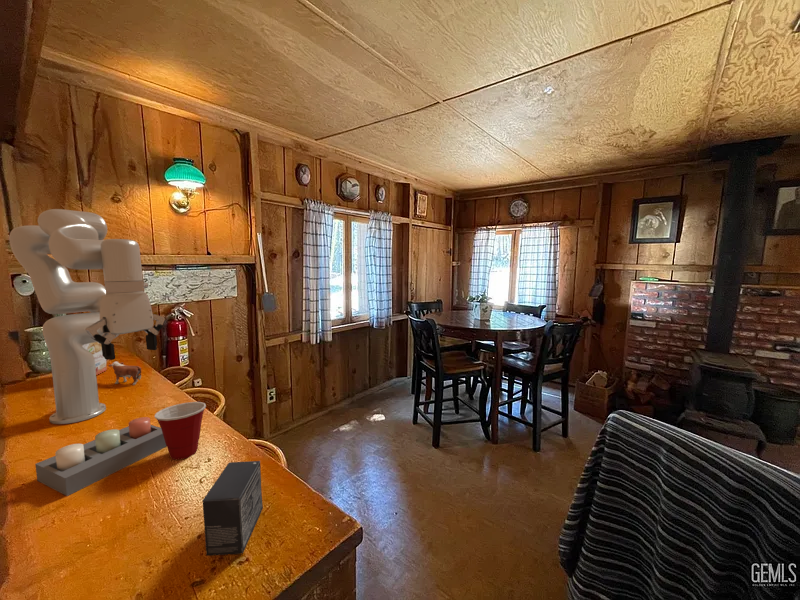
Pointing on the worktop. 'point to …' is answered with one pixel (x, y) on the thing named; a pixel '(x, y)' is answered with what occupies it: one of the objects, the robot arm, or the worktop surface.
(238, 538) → the small box
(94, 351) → the cracker box
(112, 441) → the sage button
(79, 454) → the ivory button
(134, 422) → the brick button
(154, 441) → the panel
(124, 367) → the bull figurine
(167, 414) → the plastic cup
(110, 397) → the worktop surface
